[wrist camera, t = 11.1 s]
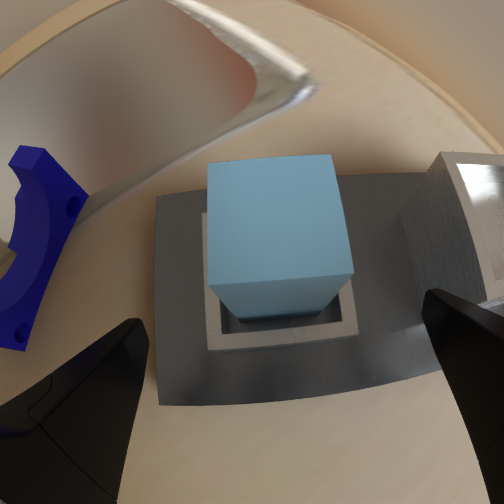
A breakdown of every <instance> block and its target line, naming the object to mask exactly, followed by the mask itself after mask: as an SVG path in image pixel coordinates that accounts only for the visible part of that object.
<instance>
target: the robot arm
mask: <svg viewBox="0 0 504 504" xmlns="http://www.w3.org/2000/svg"><path fill="white" fill-rule="evenodd" d="M421 315H422V319H423V322H424V325H425V327H426V330H427V333H428V336H429V338H430V341H431V344H432V347H433V350H434V352H435V355H436V357H437V359H438V362H439V364H440V366H441V368H442V370H443V372H444V375H445V377H446V379H447V381H448V384H449V386H450V388H451V391H452V393H453V395H454V398H455V400H456V403H457V405H458V407H459V410H460V412H461V415H462V417H463V420H464V423H465V425H466V428H467V431H468V433H469V436H470V439H471V442H472V444H473V447H474V450H475V453H476V456H477V459H478V461H479V462H478V463H479V466H480V469H481V472H482V475H483V479H484V482H485V485H486V489H487V492H488V496H489V500H490V504H504V317H503V316H501V315H499V314H496V313H494V312H492V311H490V310H487V309H485V308H483V307H481V306H478V305H476V304H474V303H472V302H469V301H467V300H465V299H462V298H460V297H458V296H455V295H453V294H451V293H448V292H446V291H444V290H441V289H439V288H434V289H428V290H427V291H426V292H425V296H424V301H423V306H422V311H421ZM148 349H149V339H148V336H147V333H146V330H145V327H144V325H143V322H142V320H141V319H139V318H129V319H127V320H125V321H124V322H122V323H121V324H120V325H118V326H117V327H115V328H114V329H112V330H111V331H110V332H108V333H107V334H105V335H104V336H103V337H101V338H100V339H98V340H97V341H95V342H94V343H93V344H91V345H90V346H88V347H87V348H86V349H84V350H83V351H81V352H80V353H79V354H77V355H76V356H74V357H73V358H72V359H70V360H69V361H67V362H66V363H65V364H63V365H62V366H60V367H59V368H58V369H56V370H55V371H53V373H50V374H49V375H48V376H46V377H45V378H44V379H42V380H41V381H39V382H38V383H36V384H35V385H34V386H32V387H31V388H29V389H27V390H26V391H24V392H23V393H21V394H19V395H18V396H16V397H15V398H13V399H11V400H10V401H8V402H6V403H5V404H3V405H2V406H0V504H117V498H118V493H119V488H120V483H121V478H122V473H123V468H124V463H125V458H126V454H127V449H128V445H129V440H130V436H131V432H132V428H133V423H134V419H135V415H136V411H137V407H138V403H139V399H140V395H141V392H142V387H143V382H144V376H145V369H146V362H147V356H148Z"/></svg>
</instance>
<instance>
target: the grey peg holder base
mask: <svg viewBox="0 0 504 504" xmlns="http://www.w3.org/2000/svg"><path fill="white" fill-rule="evenodd" d="M336 179H337V183H338V188H339V192H340V197H341V202H342V207H343V212H344V217H345V222H346V227H347V233H348V238H349V244H350V250H351V256H352V262H353V268H354V274H353V275H352V276H351V278H350V279H349V280H348V281H347V283H346V284H345V285H344V286H343V287H342V288H341V290H340V291H339V292H338V293H337V294H336V296H335V297H334V298H333V299H332V300H331V301H330V303H329V304H328V305H327V306H326V307H325V308H324V309H323V311H322V312H321V313H320V314H319V315H318V316H308V317H297V318H286V319H273V320H260V321H245V322H239V321H238V319H237V318H236V317H235V316H234V315H233V314H232V313H231V311H230V310H229V309H228V308H227V307H226V306H225V305H224V303H223V302H222V301H221V300H220V299H219V298H218V296H217V295H216V294H215V293H214V292H213V291H212V289H211V288H210V287H209V286H208V263H207V189H205V190H198V191H191V192H184V193H177V194H170V195H164V196H157V205H156V224H155V252H154V324H155V351H156V370H157V385H158V398H159V405H170V406H206V405H234V404H251V403H264V402H275V401H285V400H294V399H302V398H310V397H317V396H324V395H331V394H337V393H343V392H348V391H354V390H359V389H364V388H369V387H374V386H379V385H384V384H388V383H392V382H397V381H401V380H405V379H409V378H413V377H417V376H420V375H424V374H428V373H431V372H435V371H438V370H442V368H441V366H440V364H439V362H438V359H437V357H436V355H435V352H434V350H433V347H432V344H431V341H430V338H429V336H428V333H427V330H426V327H425V325H424V322H423V319H422V315H421V311H422V306H423V301H424V296H425V292H426V291H427V290H428V289H434V288H439V289H441V290H444V291H446V292H448V293H451V294H453V295H455V296H458V297H460V298H462V299H465V300H467V301H469V302H472V303H474V304H476V305H478V306H481V307H483V308H485V309H487V310H490V311H492V312H494V313H496V314H499V315H501V316H503V317H504V155H496V154H483V153H466V152H441V151H440V152H439V154H438V155H437V157H436V159H435V160H434V162H433V163H432V165H431V166H430V168H429V169H428V171H427V172H426V173H392V174H369V175H350V176H336Z"/></svg>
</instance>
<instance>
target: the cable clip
mask: <svg viewBox="0 0 504 504" xmlns="http://www.w3.org/2000/svg"><path fill="white" fill-rule="evenodd" d="M8 165H9V166H10V167H11V168H12V169H13V171H14V172H15V174H16V175H17V177H18V179H19V181H20V184H21V187H20V189H19V191H18V193H17V195H16V197H15V206H16V208H15V211H16V212H15V223H14V228H13V233H12V237H11V240H10V243H9V245H8V248H9V249H11V250H13V251H14V252H16V253H17V256H16V258H15V260H14V262H13V263H12V265H11V267H10V268H9V270H8V271H7V273H6V274H5V275H4V276H3V278H2V279H1V280H0V347H2V348H7V349H13V350H19V351H25V349H26V346H27V342H28V339H29V336H30V333H31V329H32V326H33V323H34V320H35V317H36V314H37V311H38V308H39V306H40V303H41V300H42V297H43V295H44V292H45V289H46V287H47V284H48V282H49V279H50V277H51V274H52V272H53V269H54V267H55V265H56V262H57V260H58V258H59V255H60V253H61V251H62V248H63V246H64V244H65V242H66V240H67V238H68V235H69V233H70V231H71V229H72V227H73V225H74V223H75V221H76V219H77V217H78V215H79V213H80V211H81V209H82V207H83V205H84V203H85V201H86V199H87V198H88V196H89V195H88V194H87V193H86V192H85V191H84V190H83V189H82V188H81V187H80V186H79V185H78V184H77V183H76V182H75V181H74V180H73V179H72V178H71V176H70V175H69V174H68V173H67V172H66V171H65V170H64V169H63V168H62V167H61V166H60V165H59V164H58V163H57V162H56V161H55V159H54V158H53V157H52V156H51V155H50V154H49V153H48V152H47V151H46V149H44V148H38V147H30V146H23V145H20V146H19V148H18V149H17V151H16V152H15V154H14V156H13V157H12V159H11V160H10V162H9V164H8Z"/></svg>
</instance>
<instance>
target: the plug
mask: <svg viewBox="0 0 504 504" xmlns="http://www.w3.org/2000/svg"><path fill="white" fill-rule="evenodd" d="M207 263H208V286H209V287H210V288H211V289H212V291H213V292H214V293H215V294H216V295H217V296H218V298H219V299H220V300H221V301H222V302H223V303H224V305H225V306H226V307H227V308H228V309H229V310H230V311H231V313H232V314H233V315H234V316H235V317H236V318H237V319H238V321H239V322H245V321H260V320H273V319H286V318H297V317H308V316H318V315H319V314H320V313H321V312H322V311H323V309H324V308H325V307H326V306H327V305H328V304H329V303H330V301H331V300H332V299H333V298H334V297H335V296H336V294H337V293H338V292H339V291H340V290H341V288H342V287H343V286H344V285H345V284H346V283H347V281H348V280H349V279H350V278H351V276H352V275H353V274H354V268H353V262H352V256H351V250H350V244H349V238H348V233H347V227H346V222H345V217H344V212H343V207H342V202H341V197H340V192H339V188H338V183H337V179H336V174H335V170H334V166H333V161H332V157H331V154H323V155H302V156H285V157H271V158H259V159H247V160H237V161H227V162H218V163H210V164H208V180H207Z"/></svg>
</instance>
